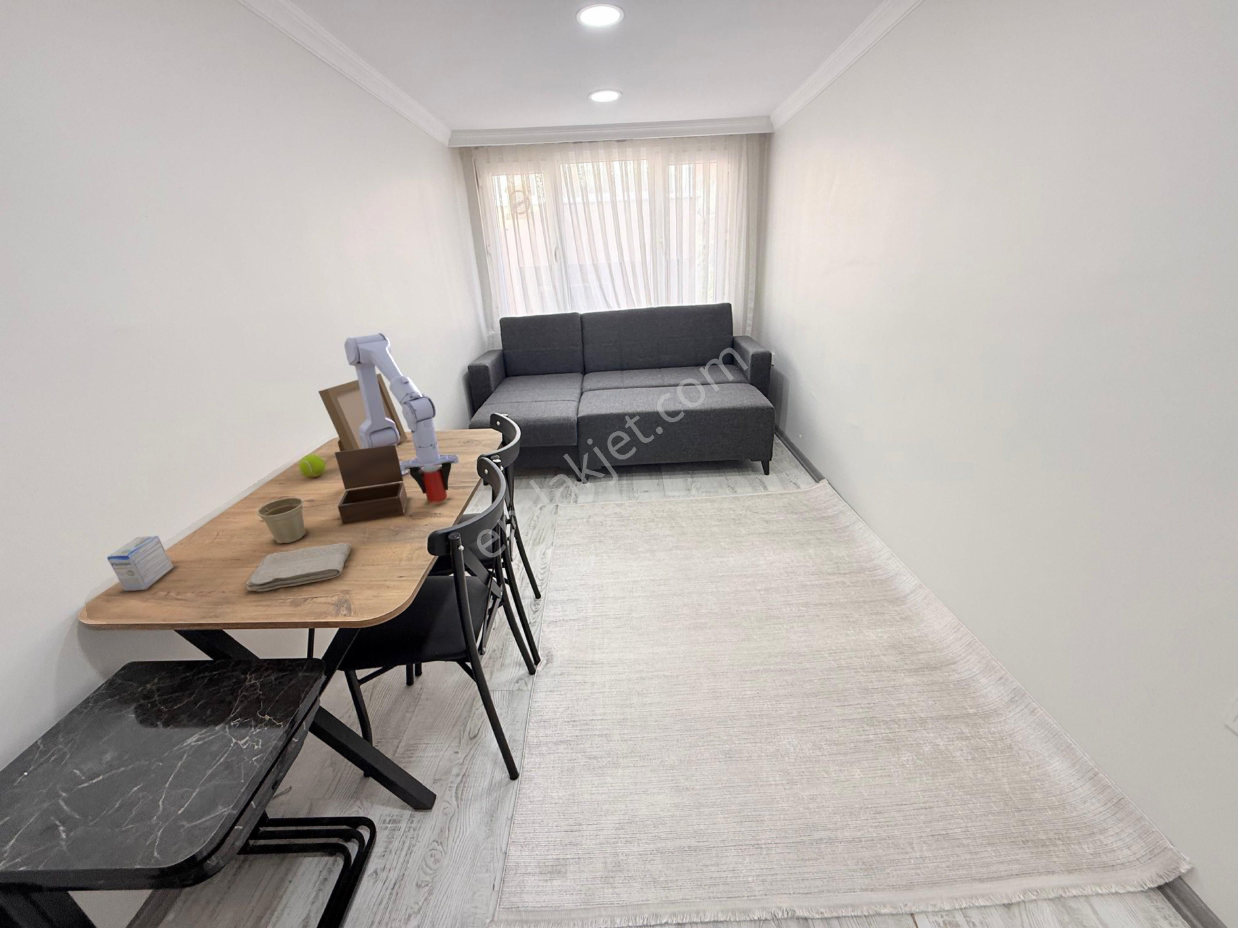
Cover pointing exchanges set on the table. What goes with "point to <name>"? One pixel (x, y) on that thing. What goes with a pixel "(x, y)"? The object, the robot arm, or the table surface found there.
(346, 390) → the photo frame
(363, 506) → the storage box
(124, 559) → the medicine box
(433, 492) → the can
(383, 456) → the lid
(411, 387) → the robot arm
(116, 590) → the table surface
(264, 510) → the flower pot
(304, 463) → the tennis ball
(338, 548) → the washcloth
